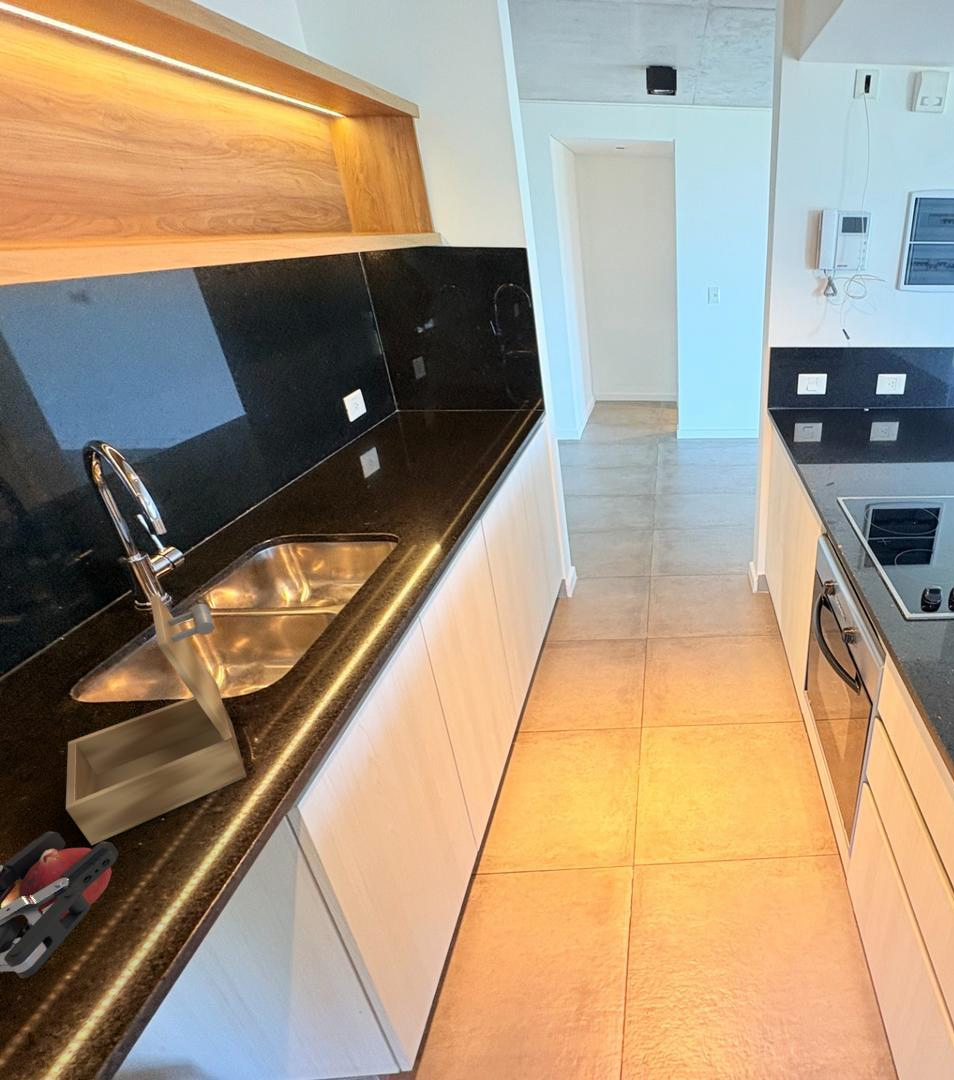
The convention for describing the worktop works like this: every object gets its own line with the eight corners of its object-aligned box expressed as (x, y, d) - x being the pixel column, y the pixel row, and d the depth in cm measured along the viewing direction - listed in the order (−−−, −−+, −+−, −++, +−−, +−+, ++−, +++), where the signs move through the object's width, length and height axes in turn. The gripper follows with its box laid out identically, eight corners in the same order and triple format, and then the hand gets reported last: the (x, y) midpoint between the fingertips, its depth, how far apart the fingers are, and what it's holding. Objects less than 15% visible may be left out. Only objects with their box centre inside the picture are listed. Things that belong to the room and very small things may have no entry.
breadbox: (92, 847, 74) (65, 809, 71) (91, 778, 83) (67, 741, 80) (247, 778, 84) (229, 741, 80) (232, 723, 92) (215, 688, 89)
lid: (157, 645, 71) (209, 625, 74) (149, 596, 80) (196, 580, 83) (224, 740, 80) (268, 719, 83) (211, 687, 89) (251, 670, 92)
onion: (67, 947, 56) (23, 893, 52) (26, 925, 57) (-19, 871, 54) (139, 889, 61) (103, 836, 57) (99, 870, 62) (62, 817, 58)
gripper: (-117, 1047, 41) (134, 827, 56) (-286, 1006, 43) (1, 803, 58) (-54, 1098, 45) (166, 878, 59) (-213, 1059, 46) (40, 855, 61)
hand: (84, 842), depth 58 cm, fingers closed on onion, 5 cm apart
